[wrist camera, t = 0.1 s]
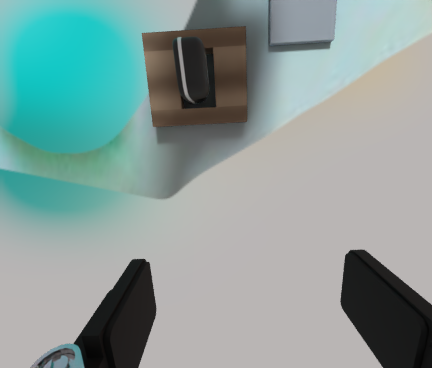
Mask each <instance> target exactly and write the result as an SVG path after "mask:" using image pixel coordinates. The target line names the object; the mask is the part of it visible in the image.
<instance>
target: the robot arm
mask: <svg viewBox="0 0 432 368" xmlns="http://www.w3.org/2000/svg"><path fill="white" fill-rule="evenodd" d="M341 306H342V309H343V310H344V312H345V313H346V314H347V316H348V318H349V319H350V321H351V322H352V323H353V325H354V326H355V327H356V329H357V331H358V332H359V333H360V335H361V336H362V338H363V339H364V341H365V342H366V343H367V345H368V347H369V348H370V349H371V351H372V352H373V353H374V355H375V357H376V358H377V359H378V361H379V362H380V364H381V365H382V367H383V368H432V305H431V304H430V303H429V302H427V301H426V300H425V299H424V298H422V297H421V296H420V295H419V294H418V293H417V292H415V291H414V290H413V289H412V288H410V287H409V286H408V285H407V284H406V283H404V282H403V281H402V280H401V279H399V278H398V277H397V276H396V275H395V274H393V273H392V272H391V271H390V270H389V269H387V268H386V267H385V266H384V265H382V264H381V263H380V262H379V261H378V260H376V259H375V258H373V256H371V255H370V254H369V253H368V252H366V251H365V250H350V251H349V253H348V254H346V255H345V263H344V272H343V282H342V292H341ZM155 316H156V303H155V296H154V289H153V283H152V276H151V269H150V263H149V262H146V260H145V259H133V260H132V261H131V262H130V263H129V265H128V266H127V268H126V270H125V271H124V273H123V274H122V276H121V277H120V279H119V280H118V282H117V283H116V285H115V286H114V288H113V289H112V290H110V291H109V292H108V293H107V295H106V297H105V298H104V300H103V301H102V302H101V304H100V305H99V307H98V308H97V310H96V311H95V313H94V314H93V316H92V317H91V319H90V320H89V322H88V323H87V325H86V326H85V327H84V329H83V330H82V332H81V334H80V335H79V336H78V338H77V339H76V341H75V342H74V344H64V345H60V346H58V347H56V348H53V349H51V350H50V351H48V352H47V353H45V354H44V355H43V356H41V357H40V358H39V359H38V360H37V361H36V362H35V363H34V364H33V365H32V366H31V368H138V367H139V364H140V361H141V358H142V355H143V352H144V349H145V346H146V343H147V340H148V337H149V334H150V331H151V328H152V325H153V322H154V319H155Z"/></svg>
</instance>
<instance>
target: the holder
mask: <svg viewBox="0 0 432 368" xmlns="http://www.w3.org/2000/svg"><path fill="white" fill-rule="evenodd" d="M178 37H182V38H184V37H198V38H200V39H201V40H202V42H203V45H204V48H205V52H206V54H213V55H214V75H215V95H216V107H208V108H190V109H184V99H183V97H182V96H181V95H180V92H179V88H178V83H177V76H176V68H175V61H174V53H173V40H174V39H176V38H178ZM142 39H143V47H144V55H145V64H146V72H147V80H148V89H149V97H150V105H151V114H152V122H153V127H164V126H181V125H199V124H217V123H235V122H247V74H246V26H243V27H228V28H213V29H198V30H182V31H167V32H152V33H142Z"/></svg>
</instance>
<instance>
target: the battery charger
mask: <svg viewBox="0 0 432 368" xmlns="http://www.w3.org/2000/svg"><path fill="white" fill-rule="evenodd" d="M173 53H174V61H175V68H176V76H177V83H178V88H179V92H180V95H181V96H182V97H183V98H184V99H185V100H187V101H188V102H189V103H190V104H196V103H201V102H204V101H205V100H206V98H207V96H208V94H209V79H208V69H207V59H206V52H205V48H204V45H203V42H202V40H201V39H200V38H198V37H184V38H182V37H178V38H176V39H174V40H173Z"/></svg>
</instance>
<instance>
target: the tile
mask: <svg viewBox="0 0 432 368" xmlns="http://www.w3.org/2000/svg"><path fill="white" fill-rule="evenodd" d="M336 7H337V0H270V17H269V46H273V45H289V44H305V43H320V42H331V41H333V40H334V35H335V21H336Z"/></svg>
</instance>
